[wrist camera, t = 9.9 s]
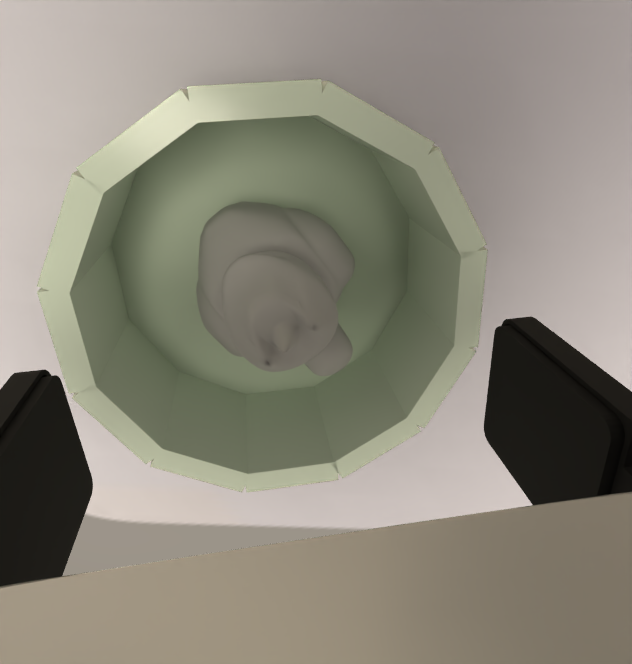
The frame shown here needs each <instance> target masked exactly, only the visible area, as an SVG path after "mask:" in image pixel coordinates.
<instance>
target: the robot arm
mask: <svg viewBox="0 0 632 664" xmlns="http://www.w3.org/2000/svg"><path fill="white" fill-rule="evenodd" d="M484 432H485V436H486V439H487V441H488V443H489V444H490V445H491V447H492V448H493V450H494V451H495V452H496V454H497V455H498V457H499V458H500V459H501V461H502V462H503V464H504V465H505V466H506V468H507V469H508V471H509V472H510V473H511V475H512V476H513V478H514V479H515V480H516V482H517V483H518V485H519V486H520V487H521V489H522V490H523V492H524V493H525V494H526V496H527V497H528V499H529V500H530V501H531V503H532V504H533V505H532V506H525V507H518V508H511V509H504V510H497V511H490V512H483V513H476V514H470V515H463V516H456V517H449V518H442V519H436V520H429V521H422V522H415V523H408V524H401V525H395V526H388V527H381V528H374V529H368V530H361V531H354V532H347V533H341V534H334V535H328V536H321V537H314V538H308V539H301V540H295V541H288V542H282V543H275V544H269V545H262V546H255V547H249V548H242V549H235V550H229V551H222V552H216V553H209V554H202V555H196V556H189V557H184V558H176V559H170V560H164V561H158V562H152V563H145V564H138V565H132V566H125V567H119V568H112V569H106V570H99V571H93V572H86V573H80V574H74V575H67V576H62V575H63V572H64V569H65V566H66V564H67V561H68V558H69V556H70V553H71V550H72V547H73V544H74V542H75V539H76V536H77V533H78V531H79V528H80V525H81V523H82V520H83V517H84V514H85V512H86V509H87V506H88V503H89V501H90V498H91V495H92V489H93V482H92V477H91V473H90V470H89V467H88V464H87V461H86V457H85V454H84V451H83V448H82V445H81V442H80V439H79V435H78V432H77V429H76V426H75V423H74V420H73V417H72V413H71V410H70V407H69V404H68V401H67V398H66V395H65V391H64V388H63V385H62V382H61V380H60V378H59V377H58V376H51V374H50V373H49V372H48V371H47V370H38V371H29V372H19V373H14V374H13V375H12V376H11V377H10V378H9V379H8V381H7V382H6V383H5V384H4V386H3V387H2V388H1V389H0V664H632V392H631V391H630V390H629V389H627V388H626V387H625V386H623V385H622V384H621V383H619V382H618V381H617V380H615V379H614V378H613V377H611V376H610V375H609V374H608V373H606V372H605V371H604V370H602V369H601V368H600V367H598V366H597V365H596V364H594V363H593V362H592V361H590V360H589V359H588V358H587V357H585V356H584V355H583V354H581V353H580V352H579V351H577V350H576V349H575V348H573V347H572V346H571V345H569V344H568V343H567V342H565V341H564V340H563V339H562V338H560V337H559V336H558V335H556V334H555V333H554V332H552V331H551V330H550V329H548V328H547V327H546V326H544V325H543V324H542V323H541V322H539V321H538V320H537V319H535V318H533V317H523V318H514V319H506V320H505V321H504V322H503V324H502V326H499V327H497V328H496V330H495V334H494V342H493V351H492V359H491V368H490V377H489V386H488V394H487V403H486V412H485V420H484Z"/></svg>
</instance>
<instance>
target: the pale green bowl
mask: <svg viewBox="0 0 632 664" xmlns="http://www.w3.org/2000/svg"><path fill="white" fill-rule="evenodd" d="M433 145H434V142H433V141H431V140H429V139H427V138H426V137H424V136H422V135H421V134H419V133H417V132H415V131H414V130H412V129H410V128H409V127H407V126H405V125H403V124H402V123H400V122H398V121H397V120H395V119H393V118H391V117H390V116H388V115H386V114H385V113H383V112H381V111H379V110H378V109H376V108H374V107H372V106H371V105H369V104H367V103H366V102H364V101H362V100H360V99H359V98H357V97H355V96H354V95H352V94H350V93H348V92H347V91H345V90H343V89H342V88H340V87H338V86H336V85H335V84H333V83H331V82H330V81H321V79H311V80H293V81H275V82H257V83H239V84H221V85H203V86H187V89H179V90H178V91H177V92H176V93H174V94H173V95H172V96H170V97H169V98H168V99H166V100H165V101H164V102H162V103H161V104H160V105H158V106H157V107H156V108H154V109H153V110H152V111H150V112H149V113H148V114H147V115H145V116H144V117H143V118H141V119H140V120H139V121H137V122H136V123H135V124H133V125H132V126H131V127H129V128H128V129H127V130H125V131H124V132H123V133H121V134H120V135H119V136H118V137H116V138H115V139H114V140H112V141H111V142H110V143H108V144H107V145H106V146H104V147H103V148H102V149H100V150H99V151H98V152H96V153H95V154H94V155H93V156H91V157H90V158H89V159H87V160H86V161H85V162H83V163H82V164H81V165H79V166H78V167H77V168H76V169H77V170H78V171H76V172H74V173H72V175H71V179H70V182H69V185H68V188H67V191H66V195H65V198H64V201H63V204H62V207H61V211H60V214H59V217H58V220H57V224H56V227H55V230H54V233H53V236H52V240H51V243H50V246H49V249H48V252H47V256H46V259H45V262H44V265H43V268H42V272H41V275H40V278H39V281H38V284H37V286H38V287H41V289H40V290H39V291H38V292H37V294H38V297H39V300H40V303H41V306H42V309H43V313H44V316H45V319H46V322H47V325H48V329H49V332H50V335H51V338H52V341H53V344H54V348H55V351H56V354H57V357H58V360H59V364H60V367H61V370H62V373H63V376H64V379H65V383H66V386H67V389H68V392H69V393H74V395H73V397H72V399H74V400H75V401H76V402H77V403H78V404H79V405H80V406H81V407H83V408H84V409H85V410H86V411H87V412H88V413H89V414H90V415H91V416H93V417H94V418H95V419H96V420H97V421H98V422H99V423H100V424H102V425H103V426H104V427H105V428H106V429H107V430H108V431H109V432H110V433H112V434H113V435H114V436H115V437H116V438H117V439H118V440H119V441H121V442H122V443H123V444H124V445H125V446H126V447H127V448H128V449H129V450H131V451H132V452H133V453H134V454H135V455H136V456H137V457H138V458H139V459H141V460H142V461H143V462H144V463H145V464H147V463H148V462H150V461H152V462H151V466H150V467H154V468H157V469H161V470H164V471H168V472H171V473H175V474H179V475H182V476H186V477H189V478H193V479H196V480H200V481H204V482H207V483H211V484H214V485H218V486H221V487H225V488H229V489H232V490H236V491H239V492H242V491H243V489H244V487H245V486H246V491H247V492H254V491H261V490H269V489H276V488H283V487H290V486H297V485H305V484H312V483H319V482H326V481H334V480H338V473H339V475H340V476H341V477H342V478H344V477H346V476H347V475H349V474H351V473H352V472H354V471H356V470H357V469H359V468H361V467H362V466H364V465H366V464H367V463H369V462H371V461H372V460H374V459H376V458H377V457H379V456H381V455H382V454H384V453H386V452H387V451H389V450H391V449H392V448H394V447H396V446H397V445H399V444H401V443H402V442H404V441H406V440H407V439H409V438H411V437H412V436H414V435H416V434H417V433H419V432H420V429H419V427H418V426H420V427H423V428H425V426H426V425H427V423H428V422H429V420H430V419H431V417H432V416H433V415H434V413H435V412H436V410H437V409H438V407H439V406H440V404H441V403H442V401H443V400H444V398H445V397H446V395H447V394H448V392H449V391H450V389H451V388H452V386H453V385H454V383H455V382H456V381H457V379H458V378H459V376H460V375H461V373H462V372H463V370H464V369H465V367H466V366H467V364H468V363H469V361H470V360H471V358H472V357H473V355H474V354H475V352H476V351H475V350H474V348H473V347H478V341H479V331H480V321H481V311H482V301H483V291H484V281H485V271H486V261H487V251H488V250H487V249H486V248H484V246H485V245H487V244H486V242H485V240H484V238H483V236H482V234H481V232H480V230H479V228H478V226H477V224H476V222H475V220H474V217H473V215H472V213H471V211H470V209H469V207H468V205H467V203H466V201H465V199H464V197H463V195H462V193H461V191H460V189H459V187H458V185H457V183H456V181H455V179H454V177H453V175H452V173H451V171H450V169H449V167H448V165H447V163H446V161H445V159H444V157H443V155H442V153H441V151H440V148H439V147H436V146H433ZM238 202H259V203H267V204H273V205H276V206H279V207H281V208H295V209H300V210H304V211H307V212H309V213H312V214H314V215H316V216H318V217H319V218H321V219H322V220H324V221H325V222H327V223H328V224H329V225H330V226H331V227H332V228H333V229H334V230H335V231H336V232H337V234H338V235H339V236H340V238H341V239H342V240H343V242H344V243H345V244H346V246H347V247H348V248H349V250H350V251H351V253H352V255H353V257H354V261H355V268H354V272H353V274H352V277H351V278H350V280H349V281H348V283H347V284H346V285H345V286H344V288H343V290H342V293H341V296H340V298H339V300H338V302H337V303H336V306H337V311H338V323H339V324H340V326H341V327H342V329H343V330H344V332H345V333H346V335H347V336H348V338H349V340H350V341H351V344H352V348H353V353H352V357H351V359H350V361H349V363H348V364H347V365H346V366H345V367H344V368H343V369H342V370H340V371H339V372H337V373H335V374H332V375H329V376H319V375H316V374H314V373H313V372H312V371H311V370H310V369H309V368H308V367H307V366H306V365H305V364H302V365H300V366H298V367H296V368H293V369H290V370H286V371H280V372H269V371H264V370H262V369H260V368H257V367H256V366H254V365H253V364H251V363H250V362H249V361H248V360H247V359H246V358H244V357H238V356H235V355H233V354H231V353H230V352H229V351H227V350H226V349H225V348H224V347H223V346H222V345H221V344H220V343H219V342H218V341H217V340H216V339H215V338H214V337H213V336H212V335H211V334H210V333H209V332H208V331H207V329H206V328H205V326H204V324H203V322H202V319H201V316H200V312H199V308H198V303H197V294H196V287H197V282H198V262H199V246H200V236H201V234H202V231H203V228H204V226H205V224H206V222H207V221H208V220H209V219H210V218H211V217H212V216H213V215H215V214H216V213H217V212H218V211H220V210H221V209H222V208H224V207H226V206H228V205H231V204H235V203H238Z"/></svg>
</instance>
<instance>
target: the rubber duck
mask: <svg viewBox="0 0 632 664" xmlns="http://www.w3.org/2000/svg"><path fill="white" fill-rule="evenodd" d="M354 268H355V261H354V257H353V255H352V253H351V251H350V250H349V248H348V247H347V246H346V244H345V243H344V242H343V240H342V239H341V238H340V236H339V235H338V234H337V232H336V231H335V230H334V229H333V228H332V227H331V226H330V225H329V224H328V223H327V222H325V221H324V220H322V219H321V218H319V217H318V216H316V215H314V214H312V213H309V212H307V211H304V210H300V209H295V208H281V207H279V206H276V205H273V204H267V203H259V202H238V203H235V204H231V205H228V206H226V207H224V208H222V209H221V210H220V211H218V212H217V213H216V214H215V215H213V216H212V217H211V218H210V219H209V220H208V221H207V222H206V224H205V226H204V228H203V231H202V234H201V236H200V246H199V262H198V282H197V287H196V294H197V303H198V308H199V312H200V316H201V319H202V322H203V324H204V326H205V328H206V329H207V331H208V332H209V333H210V334H211V335H212V336H213V337H214V338H215V339H216V340H217V341H218V342H219V343H220V344H221V345H222V346H223V347H224V348H225V349H226V350H227V351H229V352H230V353H231V354H233V355H235V356H238V357H244V358H246V359H247V360H248V361H249V362H250V363H251V364H253V365H254V366H256V367H257V368H260V369H262V370H264V371H269V372H280V371H286V370H290V369H293V368H296V367H298V366H300V365H302V364H305V365H306V366H307V367H308V368H309V369H310V370H311V371H312V372H313V373H314V374H316V375H319V376H329V375H332V374H335V373H337V372H339V371H340V370H342V369H343V368H344V367H345V366H346V365H347V364H348V363H349V361H350V359H351V357H352V353H353V348H352V344H351V341H350V340H349V338H348V336H347V335H346V333H345V332H344V330H343V329H342V327H341V326H340V324H339V323H338V311H337V306H336V303H337V302H338V300H339V298H340V296H341V293H342V290H343V288H344V286H345V285H346V284H347V283H348V281H349V280H350V278H351V277H352V274H353V272H354Z"/></svg>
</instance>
